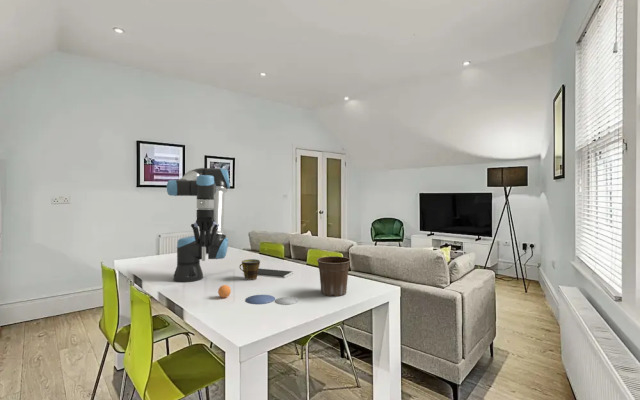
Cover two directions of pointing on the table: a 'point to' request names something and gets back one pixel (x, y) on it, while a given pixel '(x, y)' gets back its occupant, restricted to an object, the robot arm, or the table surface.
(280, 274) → the dark grey flat slab
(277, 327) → the table surface
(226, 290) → the ball
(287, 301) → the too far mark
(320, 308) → the table surface
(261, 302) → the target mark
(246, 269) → the ceramic cup
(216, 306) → the table surface
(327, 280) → the plant pot
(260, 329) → the table surface
